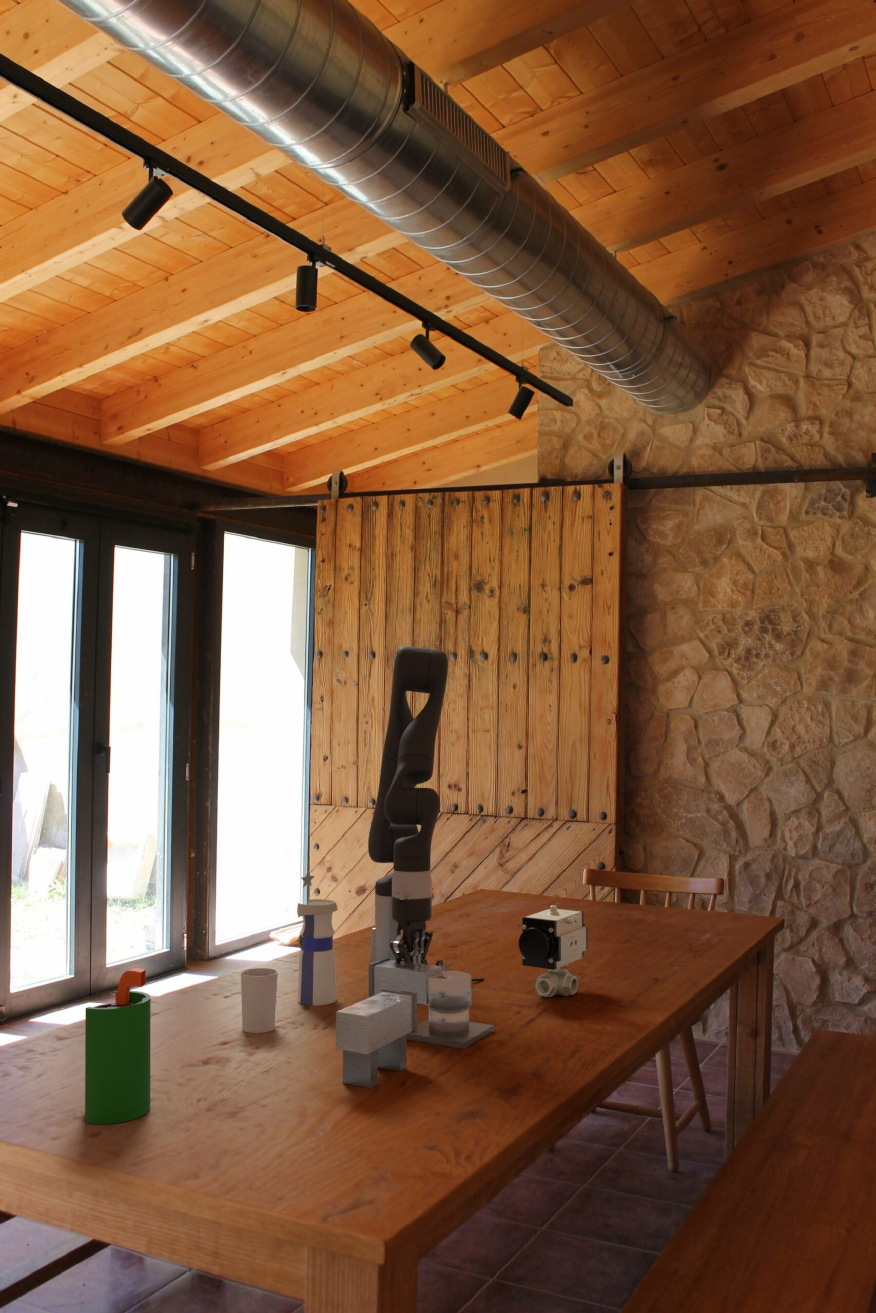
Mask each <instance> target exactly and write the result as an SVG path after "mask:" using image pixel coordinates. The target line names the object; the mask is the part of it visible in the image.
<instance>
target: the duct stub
mask: <svg viewBox="0 0 876 1313" xmlns="http://www.w3.org/2000/svg"><path fill="white" fill-rule="evenodd" d="M493 1032H495V1025H494V1024H488V1023H481V1022H474V1021H470V1007H469V1008H466V1009H462V1010H437V1009H432V1008H430V1007H428V1019H427V1020H425V1021H423V1022H422V1023H419V1024H417V1032H416V1033H411V1032H410V1033H408V1034H407V1040H409V1041H414V1042H422V1043H426V1044H431V1045H437V1046H445V1047H452V1048H456V1049H466V1048H467V1047H468V1048H469V1047H470V1046H471V1045H472V1044H474V1043H476V1042H478V1041H479V1040H481V1039H483V1038H484V1037H486V1036H487V1035H489V1034H491V1033H493Z"/></svg>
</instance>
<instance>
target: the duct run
mask: <svg viewBox="0 0 876 1313" xmlns="http://www.w3.org/2000/svg"><path fill="white" fill-rule="evenodd" d="M335 1013H336V1014H335V1015H336V1017H335V1019H336V1020H335V1021H336V1022H335V1023H336V1024H335V1027H336V1028H335V1029H336V1030H335V1041H336V1042H335V1050H341V1051H342V1084H347V1085H352V1086H357V1087H362V1088H366V1089H367V1088H368V1089H372V1088H374V1087H375V1086H376V1085H378V1069H385V1070H391V1071H397V1072H402V1071H403V1070H405V1069H407V1054H408V1053H407V1049H408V1048H407V1044H408V1043H407V1034H408V1033H410V1032H411V1033H416V1032H417V1025H418V1003H417V993H413V992H406V991H399V990H392V989H385V988H384V989H382V992H381V993H379V994H377V995H374V996H372V997H370V998H369V997H367V998H365V999H362V1000H361V1001H357V1002H356V1003H353V1004H352V1005H349V1006H345V1007H344V1008H342V1009H339V1010H337V1011H336V1012H335Z"/></svg>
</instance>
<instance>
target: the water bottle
mask: <svg viewBox="0 0 876 1313" xmlns="http://www.w3.org/2000/svg"><path fill="white" fill-rule="evenodd" d="M300 878H301V880H302V881H303V885H302V888H305V887H306V886H309V887H312V880H313V879H314V878H315V875H311V874H310V872H309V870H307V872H306V875H304V876H301V877H300ZM337 911H338V904H337V901H336V900H333V899H332V900H331V899H322V898H320V899H319V898H313V899H308V900H307V904H304V903H303V904H302V903H299V902H297V908H296V913H297V914H296V915H297V917H298V919H299V918H300V917H302V921H303V923H302V927H301V929H300V931H299V935H298V937H297V945H298V948H299V949H300V951H299V956H298V980H297V981H298V982H297V997H296V998H297V999H296V1000H297V1001H296V1002H297V1003H299V1004H301V1005H304V1006H324V1005H325V1006H327V1005H331V1004H333V1003H336V1001H337V991H336V989H337V988H336V956H335V955H336V954H335V950H334V940H333V939H334V938H333V937H334V935H335V933H336V931H335V930H334V928H333V923H332V922H333V914H334V913H335V912H337Z"/></svg>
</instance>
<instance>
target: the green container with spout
mask: <svg viewBox="0 0 876 1313" xmlns="http://www.w3.org/2000/svg"><path fill="white" fill-rule="evenodd" d="M146 974H147V972H146V969H145V968H139V967H132V968H128V970H126V971H125V972H123V973H122V975H121V977H120V979H119V982H118V985H117V990H116V991H115V1002H112V1003H111V1002H109V1003H104V1004H99V1005H95V1006H88V1007H85V1029H84V1030H85V1031H84V1032H85V1033H84V1034H85V1040H84V1041H85V1044H84V1046H85V1052H84V1056H85V1057H84V1058H85V1059H84V1062H85V1063H84V1066H85V1068H84V1070H85V1072H84V1077H85V1078H84V1081H85V1082H84V1083H85V1084H84V1123H86V1124H93V1125H109V1124H110V1125H111V1124H112V1125H113V1124H121V1123H125V1122H129V1121H132V1120H135V1119H138V1118H140V1117H143V1116H144V1115H146V1114H147V1113H148V1112H149V1111H150V1110H151V1001H152V1000H151V995H150V994H149V993H147V992H143V991H138V990H137V991H136V990H131V986H132V987H137V988H142V987H143V986H145V985H146V980H147V977H146V976H147V975H146Z"/></svg>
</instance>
